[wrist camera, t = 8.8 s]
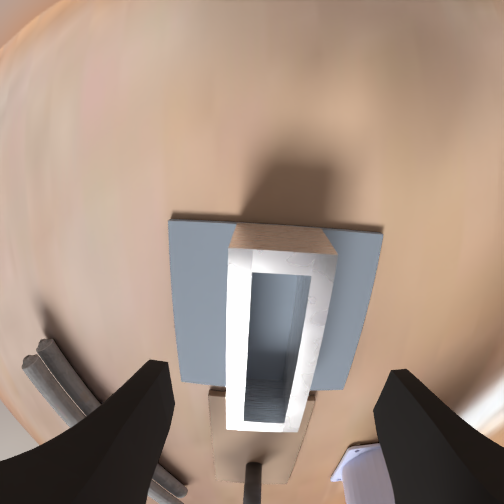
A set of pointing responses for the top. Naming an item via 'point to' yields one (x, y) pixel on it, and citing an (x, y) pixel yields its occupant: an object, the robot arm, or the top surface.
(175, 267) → the rubber mat
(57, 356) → the metal rod assembly
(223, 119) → the top surface
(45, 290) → the top surface
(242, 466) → the post stand
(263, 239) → the steel link
